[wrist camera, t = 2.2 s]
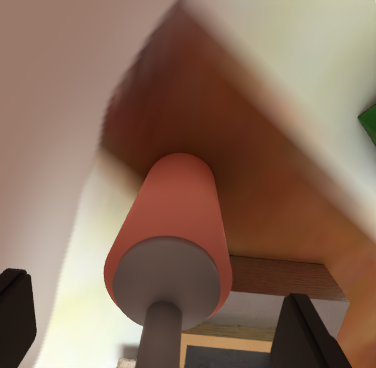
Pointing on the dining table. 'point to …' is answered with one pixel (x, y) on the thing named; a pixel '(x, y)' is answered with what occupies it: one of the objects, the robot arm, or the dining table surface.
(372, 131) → the milk carton
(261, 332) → the grey square socket base
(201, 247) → the oil can
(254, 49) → the dining table surface
